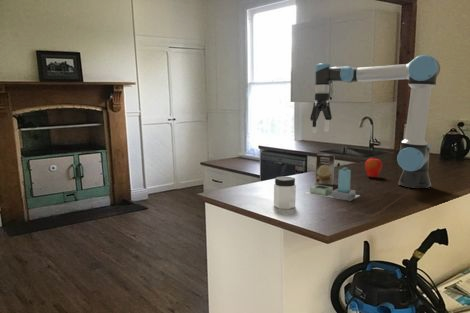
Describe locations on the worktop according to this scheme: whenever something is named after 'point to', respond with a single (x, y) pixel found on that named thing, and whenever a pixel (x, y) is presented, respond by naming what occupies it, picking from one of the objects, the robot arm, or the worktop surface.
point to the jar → (284, 192)
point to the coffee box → (325, 169)
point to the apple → (373, 167)
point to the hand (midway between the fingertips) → (320, 132)
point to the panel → (332, 192)
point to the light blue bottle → (344, 180)
